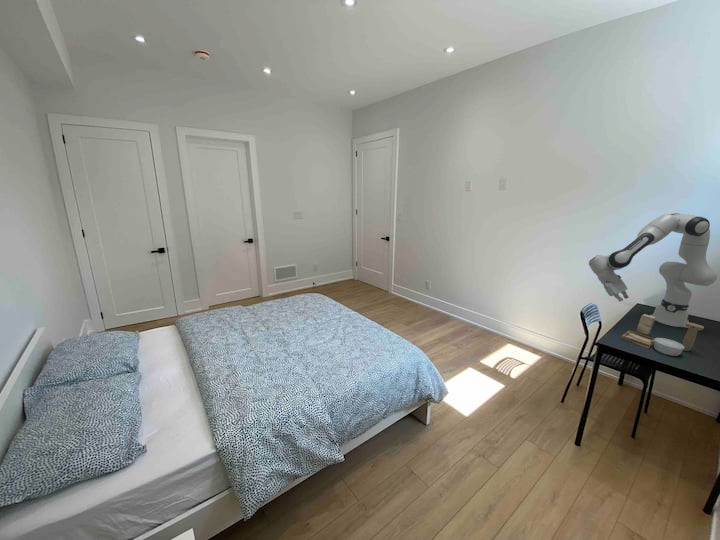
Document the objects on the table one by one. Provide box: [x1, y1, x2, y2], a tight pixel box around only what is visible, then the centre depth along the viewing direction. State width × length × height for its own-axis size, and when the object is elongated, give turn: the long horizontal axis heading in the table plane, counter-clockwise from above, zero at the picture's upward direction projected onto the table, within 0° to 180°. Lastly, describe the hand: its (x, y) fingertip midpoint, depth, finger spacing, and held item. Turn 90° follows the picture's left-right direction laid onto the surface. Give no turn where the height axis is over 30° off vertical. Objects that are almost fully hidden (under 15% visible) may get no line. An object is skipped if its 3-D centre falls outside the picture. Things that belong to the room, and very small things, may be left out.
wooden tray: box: [620, 330, 655, 349], centre depth 167 cm, size 13×12×2 cm
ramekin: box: [653, 337, 685, 357], centre depth 156 cm, size 11×11×5 cm
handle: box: [681, 322, 705, 352], centre depth 157 cm, size 5×6×15 cm
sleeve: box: [635, 313, 656, 337], centre depth 172 cm, size 5×5×12 cm
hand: (624, 299), depth 178 cm, fingers open, 8 cm apart
